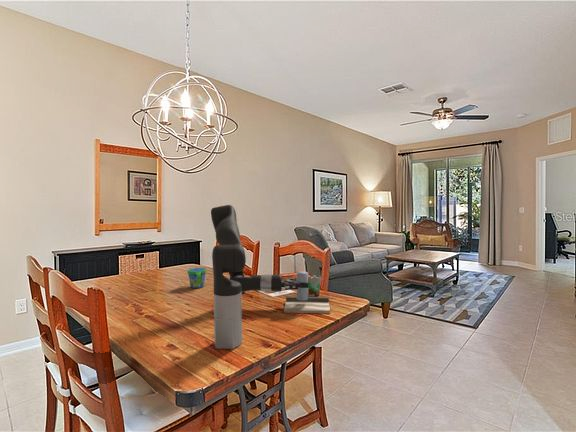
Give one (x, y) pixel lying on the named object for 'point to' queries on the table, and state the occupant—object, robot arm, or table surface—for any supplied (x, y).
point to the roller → (302, 292)
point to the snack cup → (197, 277)
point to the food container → (314, 285)
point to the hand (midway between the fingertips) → (308, 283)
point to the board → (307, 305)
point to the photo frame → (279, 293)
